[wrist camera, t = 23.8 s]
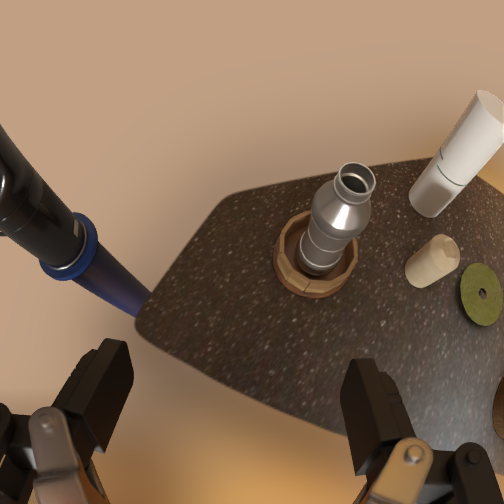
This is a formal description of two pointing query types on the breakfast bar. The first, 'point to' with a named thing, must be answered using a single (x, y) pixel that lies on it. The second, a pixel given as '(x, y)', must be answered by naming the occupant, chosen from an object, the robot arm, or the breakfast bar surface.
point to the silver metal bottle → (336, 218)
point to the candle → (432, 261)
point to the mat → (481, 294)
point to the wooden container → (499, 410)
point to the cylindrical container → (460, 155)
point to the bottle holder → (299, 278)
